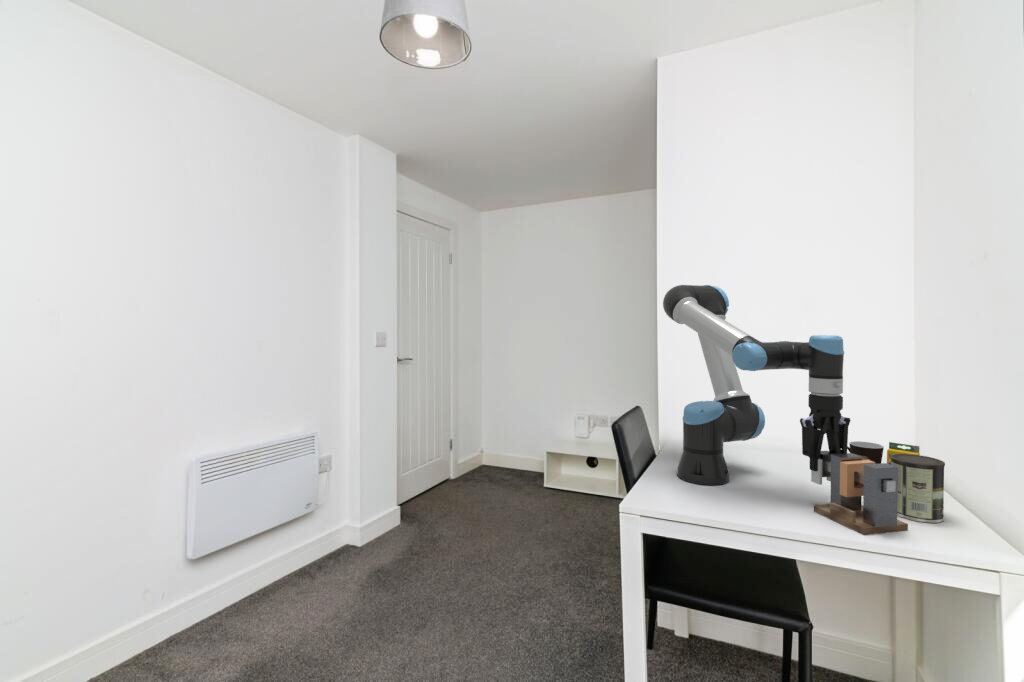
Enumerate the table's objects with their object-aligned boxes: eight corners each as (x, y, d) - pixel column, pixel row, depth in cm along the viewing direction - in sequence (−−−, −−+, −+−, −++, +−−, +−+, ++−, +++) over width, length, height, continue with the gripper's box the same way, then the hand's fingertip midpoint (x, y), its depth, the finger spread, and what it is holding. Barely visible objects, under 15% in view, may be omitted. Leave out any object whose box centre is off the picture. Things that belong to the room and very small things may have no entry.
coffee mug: (890, 479, 145) (890, 447, 144) (869, 482, 142) (869, 449, 142) (853, 468, 156) (853, 438, 156) (833, 470, 153) (833, 440, 153)
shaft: (813, 473, 125) (813, 451, 125) (826, 472, 126) (826, 450, 126) (883, 500, 106) (883, 473, 106) (898, 499, 107) (898, 472, 107)
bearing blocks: (830, 507, 119) (831, 454, 119) (850, 505, 120) (851, 453, 120) (875, 527, 107) (876, 468, 107) (897, 525, 108) (898, 466, 108)
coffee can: (924, 508, 122) (925, 454, 122) (955, 524, 112) (956, 465, 112) (880, 505, 124) (881, 452, 123) (906, 522, 114) (907, 464, 113)
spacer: (839, 494, 115) (840, 461, 115) (867, 491, 117) (867, 459, 116) (846, 497, 113) (847, 464, 113) (874, 494, 115) (875, 462, 114)
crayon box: (886, 481, 143) (886, 443, 142) (888, 479, 145) (888, 441, 145) (917, 487, 138) (918, 447, 137) (919, 485, 140) (919, 446, 139)
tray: (813, 511, 121) (813, 495, 120) (853, 507, 123) (853, 492, 123) (863, 534, 107) (864, 517, 107) (907, 530, 109) (908, 513, 109)
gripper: (808, 397, 118) (807, 489, 119) (866, 394, 122) (864, 484, 122) (786, 393, 126) (785, 479, 127) (840, 391, 129) (839, 475, 130)
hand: (824, 482), depth 124 cm, fingers closed on shaft, 4 cm apart
